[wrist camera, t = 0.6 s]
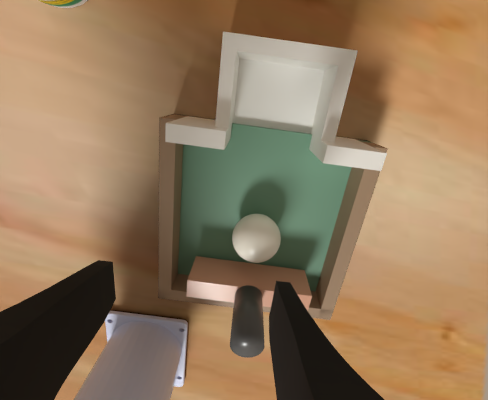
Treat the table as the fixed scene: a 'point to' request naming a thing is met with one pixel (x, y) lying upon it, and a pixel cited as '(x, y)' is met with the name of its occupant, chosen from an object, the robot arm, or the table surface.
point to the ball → (256, 238)
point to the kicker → (244, 295)
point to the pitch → (267, 168)
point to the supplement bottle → (64, 3)
